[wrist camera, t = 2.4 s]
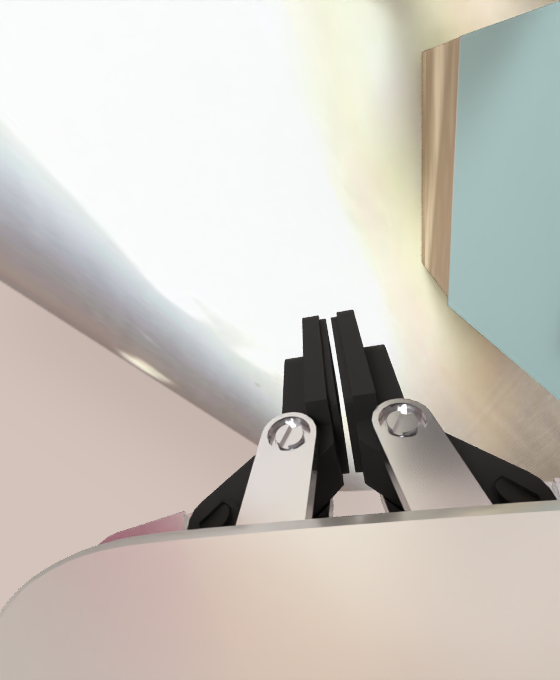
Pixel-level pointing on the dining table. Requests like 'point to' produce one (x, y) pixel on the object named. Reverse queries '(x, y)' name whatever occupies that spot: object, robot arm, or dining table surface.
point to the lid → (510, 190)
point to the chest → (438, 155)
